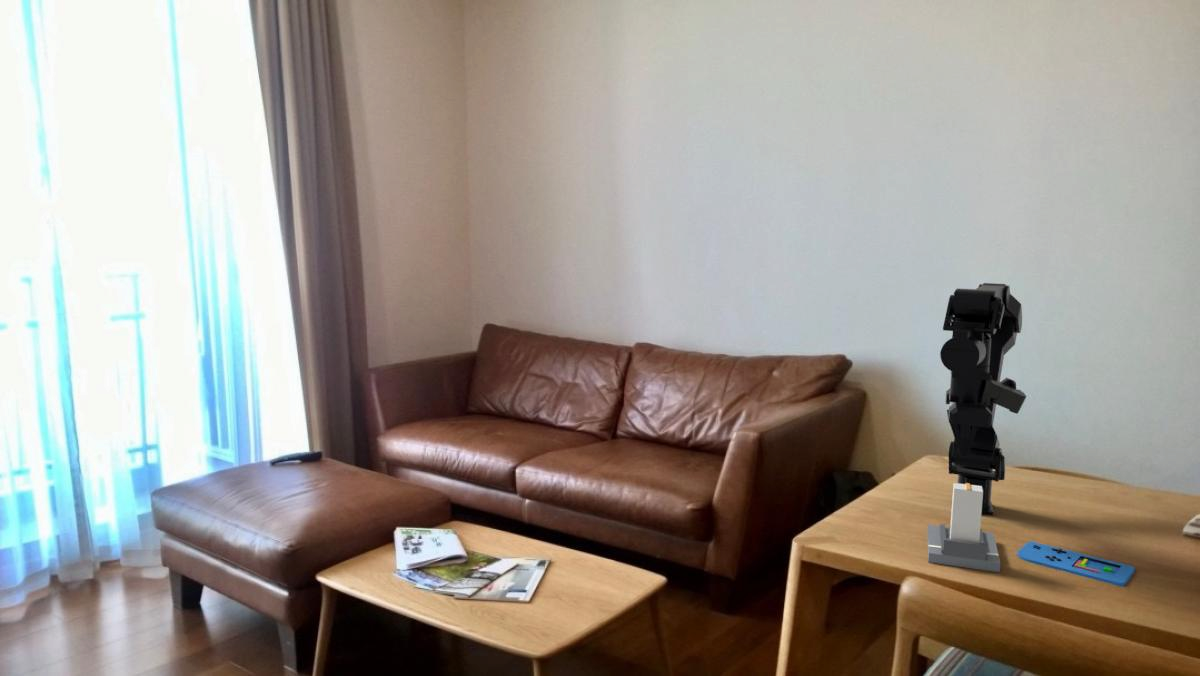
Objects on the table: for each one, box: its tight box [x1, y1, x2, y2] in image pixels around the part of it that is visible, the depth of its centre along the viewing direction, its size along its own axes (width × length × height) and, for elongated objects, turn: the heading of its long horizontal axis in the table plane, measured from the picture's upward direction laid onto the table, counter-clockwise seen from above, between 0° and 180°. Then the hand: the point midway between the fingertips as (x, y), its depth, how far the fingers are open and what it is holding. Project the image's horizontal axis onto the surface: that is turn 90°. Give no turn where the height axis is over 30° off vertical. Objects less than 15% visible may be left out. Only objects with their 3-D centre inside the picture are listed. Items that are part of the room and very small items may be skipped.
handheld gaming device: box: [1016, 541, 1136, 587], centre depth 128 cm, size 8×1×15 cm
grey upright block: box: [950, 482, 983, 543], centre depth 128 cm, size 3×4×10 cm
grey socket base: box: [926, 523, 1001, 573], centre depth 132 cm, size 13×10×4 cm
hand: (963, 455), depth 140 cm, fingers closed
